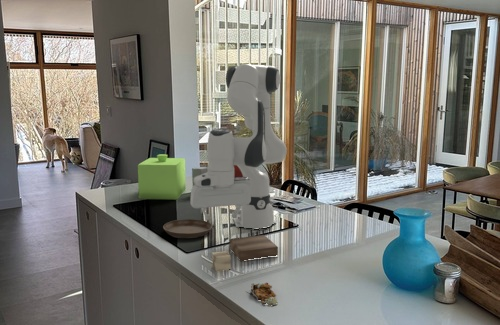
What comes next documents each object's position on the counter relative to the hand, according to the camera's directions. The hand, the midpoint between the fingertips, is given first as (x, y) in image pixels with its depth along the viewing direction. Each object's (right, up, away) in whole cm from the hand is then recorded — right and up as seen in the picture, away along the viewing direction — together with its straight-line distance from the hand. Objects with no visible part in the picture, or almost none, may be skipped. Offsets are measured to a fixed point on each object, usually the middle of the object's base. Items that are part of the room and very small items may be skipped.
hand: (221, 218), depth 151 cm
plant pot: (+2, +3, +126) cm, 126 cm away
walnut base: (+11, -15, +17) cm, 25 cm away
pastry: (+14, -21, -18) cm, 31 cm away
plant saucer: (-17, -11, +41) cm, 46 cm away
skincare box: (-19, 0, +109) cm, 111 cm away
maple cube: (0, -17, +3) cm, 18 cm away
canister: (-41, 0, +111) cm, 118 cm away
